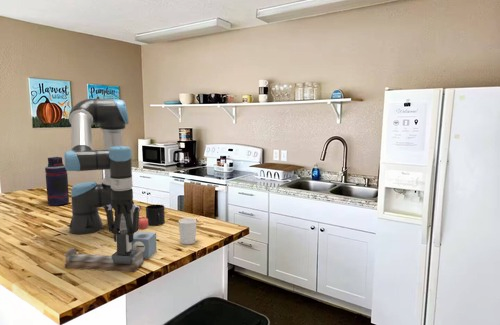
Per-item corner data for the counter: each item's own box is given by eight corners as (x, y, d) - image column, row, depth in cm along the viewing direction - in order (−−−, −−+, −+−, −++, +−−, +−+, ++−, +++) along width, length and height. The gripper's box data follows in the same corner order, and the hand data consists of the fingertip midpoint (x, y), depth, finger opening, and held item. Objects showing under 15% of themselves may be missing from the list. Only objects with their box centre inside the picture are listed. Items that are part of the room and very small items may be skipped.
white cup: (180, 239, 158) (179, 218, 157) (197, 238, 159) (197, 217, 158) (178, 245, 151) (177, 223, 149) (196, 245, 151) (195, 223, 150)
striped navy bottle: (73, 203, 219) (70, 157, 215) (54, 207, 209) (50, 159, 205) (61, 200, 227) (58, 155, 223) (42, 204, 217) (38, 157, 213)
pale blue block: (129, 258, 136) (128, 239, 135) (138, 250, 145) (137, 231, 144) (148, 259, 136) (147, 240, 135) (156, 251, 144) (156, 232, 143)
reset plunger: (135, 229, 137) (134, 221, 137) (139, 226, 142) (139, 217, 141) (145, 230, 137) (145, 221, 136) (149, 226, 141) (149, 218, 141)
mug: (150, 228, 173) (149, 211, 171) (144, 222, 183) (143, 205, 182) (168, 225, 177) (168, 208, 176) (161, 219, 188) (161, 203, 186)
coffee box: (119, 233, 165) (117, 200, 163) (133, 231, 168) (131, 199, 165) (119, 239, 157) (118, 205, 155) (134, 237, 159) (133, 204, 157)
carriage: (111, 264, 126) (110, 234, 125) (119, 257, 132) (118, 229, 131) (130, 265, 125) (128, 235, 124) (137, 258, 131) (136, 229, 130)
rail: (63, 267, 128) (62, 253, 127) (76, 259, 135) (76, 245, 135) (135, 272, 124) (135, 257, 124) (144, 263, 132) (144, 249, 132)
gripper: (95, 190, 122) (98, 252, 125) (138, 191, 120) (140, 255, 124) (106, 185, 130) (109, 245, 133) (147, 187, 128) (149, 247, 131)
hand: (124, 249), depth 128 cm, fingers closed on carriage, 3 cm apart
